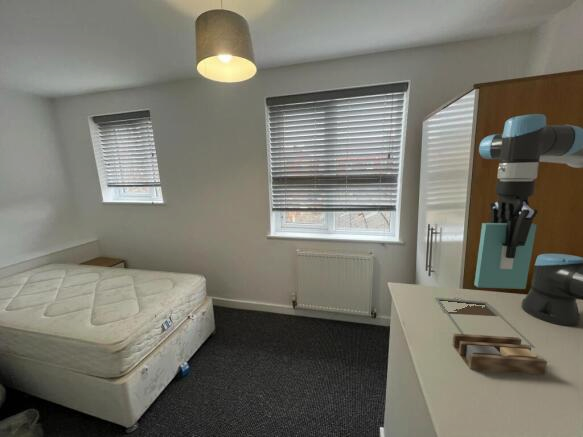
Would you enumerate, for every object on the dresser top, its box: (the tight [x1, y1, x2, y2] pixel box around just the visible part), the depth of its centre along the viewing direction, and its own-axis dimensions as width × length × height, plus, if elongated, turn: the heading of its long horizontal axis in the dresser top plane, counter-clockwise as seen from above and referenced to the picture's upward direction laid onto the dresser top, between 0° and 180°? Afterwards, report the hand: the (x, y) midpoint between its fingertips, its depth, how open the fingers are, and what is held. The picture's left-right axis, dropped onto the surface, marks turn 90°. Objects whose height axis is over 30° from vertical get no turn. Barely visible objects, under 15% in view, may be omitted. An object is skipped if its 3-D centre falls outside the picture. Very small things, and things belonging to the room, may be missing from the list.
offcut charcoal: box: [466, 345, 502, 361], centre depth 69 cm, size 7×3×4 cm, turn 83°
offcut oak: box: [500, 347, 538, 358], centre depth 67 cm, size 7×3×4 cm, turn 83°
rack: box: [451, 333, 548, 376], centre depth 70 cm, size 18×9×5 cm, turn 83°
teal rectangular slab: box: [473, 222, 537, 290], centre depth 67 cm, size 12×2×18 cm, turn 83°
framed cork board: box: [434, 297, 536, 349], centre depth 90 cm, size 19×2×30 cm
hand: (502, 266), depth 67 cm, fingers closed on teal rectangular slab, 2 cm apart
